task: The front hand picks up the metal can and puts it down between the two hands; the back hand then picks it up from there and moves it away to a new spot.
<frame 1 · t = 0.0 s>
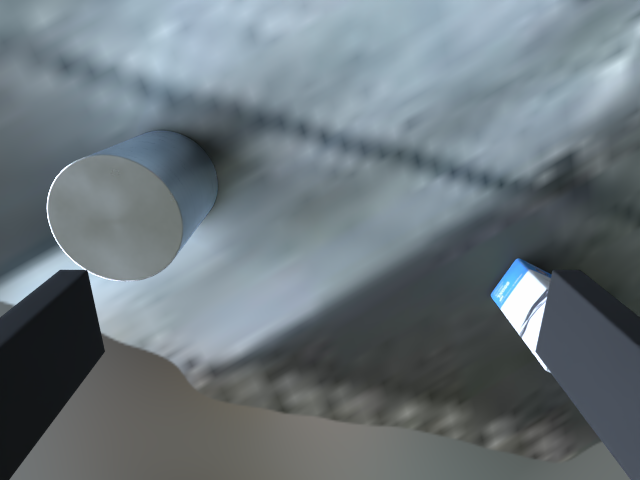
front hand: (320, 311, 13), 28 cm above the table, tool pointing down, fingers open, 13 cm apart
ink box: (536, 292, 44), on the table
can: (168, 181, 40), on the table
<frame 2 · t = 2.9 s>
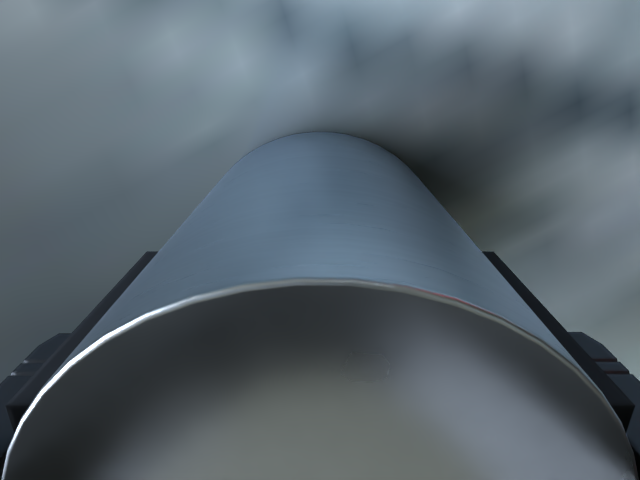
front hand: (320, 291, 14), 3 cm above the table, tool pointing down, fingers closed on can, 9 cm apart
can: (320, 253, 17), on the table, touching front hand
when the front hand's fingers open (5 cm above the table, at t = 10.8 s): can drops 2 cm, on the table.
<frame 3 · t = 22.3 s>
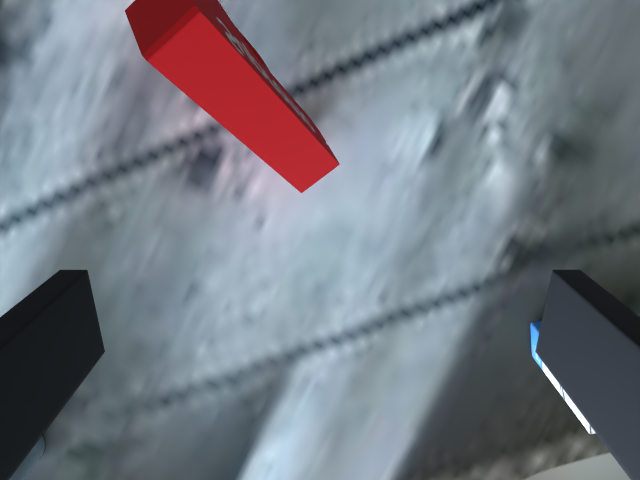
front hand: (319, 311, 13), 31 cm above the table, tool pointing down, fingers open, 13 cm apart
ink box: (567, 332, 50), on the table
toy gun: (248, 75, 40), on the table
can: (8, 439, 55), on the table, touching back hand
when the back hand's fingers open (5 cm above the table, at t = 32.4 s): can drops 2 cm, on the table.
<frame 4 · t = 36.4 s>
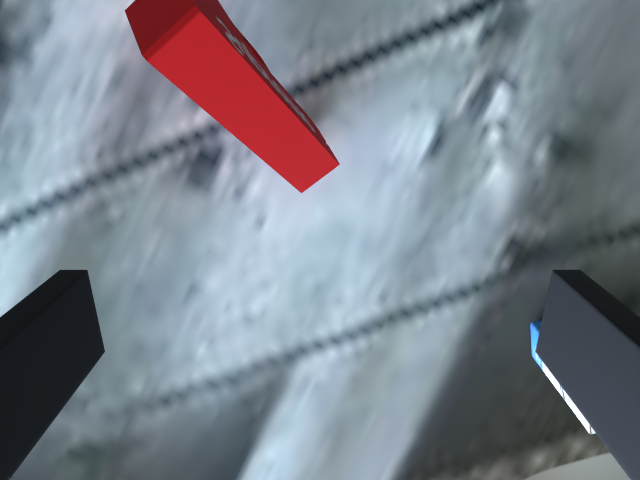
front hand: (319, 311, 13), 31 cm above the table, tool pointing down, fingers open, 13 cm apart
ink box: (567, 332, 50), on the table
toy gun: (248, 75, 40), on the table
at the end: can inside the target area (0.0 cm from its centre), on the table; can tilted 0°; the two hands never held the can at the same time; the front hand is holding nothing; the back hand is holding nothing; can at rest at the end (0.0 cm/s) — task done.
